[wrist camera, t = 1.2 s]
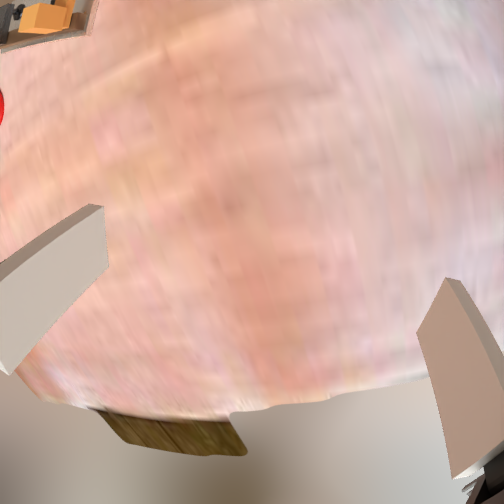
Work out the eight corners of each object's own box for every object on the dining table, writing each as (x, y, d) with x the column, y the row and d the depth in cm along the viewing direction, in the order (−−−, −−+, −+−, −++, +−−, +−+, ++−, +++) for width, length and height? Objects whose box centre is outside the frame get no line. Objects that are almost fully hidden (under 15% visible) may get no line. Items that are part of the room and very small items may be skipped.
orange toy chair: (73, -13, 23) (33, -23, 16) (91, -17, 23) (50, -30, 15) (61, 35, 27) (18, 32, 19) (78, 32, 26) (33, 27, 19)
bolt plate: (16, 2, 24) (4, 0, 22) (107, -27, 23) (94, -33, 20) (5, 53, 29) (-8, 54, 26) (90, 36, 28) (75, 33, 25)
